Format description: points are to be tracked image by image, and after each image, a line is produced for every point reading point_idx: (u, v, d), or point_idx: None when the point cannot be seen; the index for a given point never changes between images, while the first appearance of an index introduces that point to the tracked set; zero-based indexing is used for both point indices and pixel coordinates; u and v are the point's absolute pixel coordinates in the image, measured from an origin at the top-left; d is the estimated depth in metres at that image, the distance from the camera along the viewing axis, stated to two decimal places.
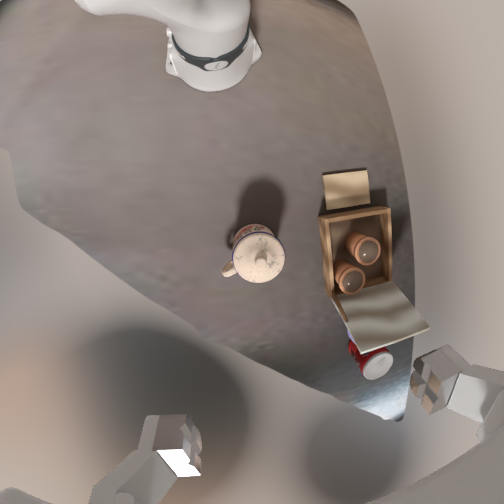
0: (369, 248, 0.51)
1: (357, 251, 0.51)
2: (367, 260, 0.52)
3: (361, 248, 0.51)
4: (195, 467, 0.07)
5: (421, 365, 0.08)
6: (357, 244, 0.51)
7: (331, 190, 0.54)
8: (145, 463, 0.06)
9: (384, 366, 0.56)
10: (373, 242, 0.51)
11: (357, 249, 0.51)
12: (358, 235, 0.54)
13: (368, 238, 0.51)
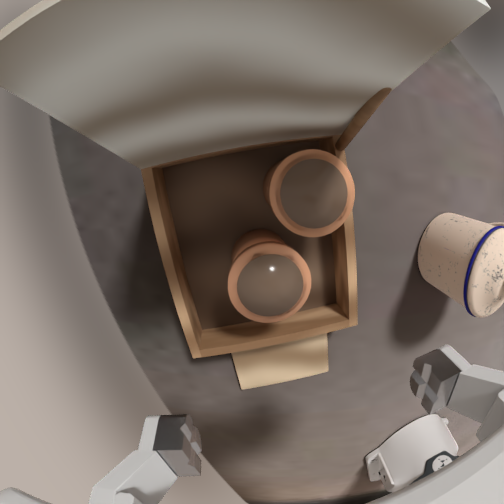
0: (268, 293, 0.19)
1: (306, 286, 0.19)
2: (272, 261, 0.18)
3: (297, 295, 0.19)
4: (195, 467, 0.07)
5: (421, 365, 0.08)
6: None
7: (314, 353, 0.28)
8: (145, 463, 0.06)
9: None
10: (259, 311, 0.19)
11: (306, 291, 0.19)
12: None
13: (273, 319, 0.19)
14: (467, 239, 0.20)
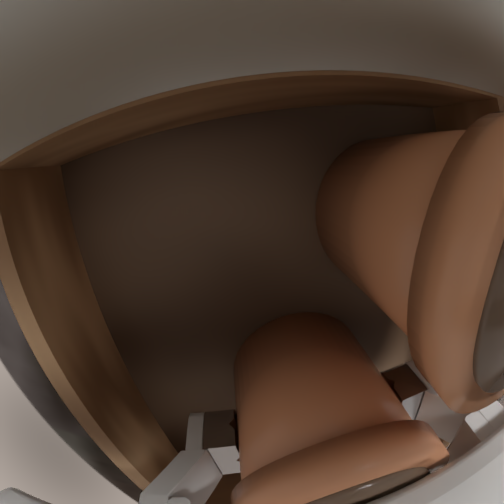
0: None
1: None
2: (375, 491, 0.04)
3: None
4: None
5: None
6: None
7: None
8: (196, 463, 0.06)
9: None
10: None
11: None
12: None
13: None
14: None
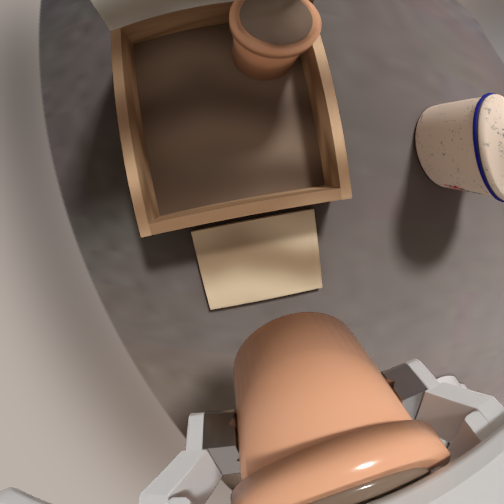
0: None
1: None
2: (376, 491, 0.04)
3: None
4: None
5: None
6: None
7: (302, 256, 0.23)
8: (196, 463, 0.06)
9: None
10: None
11: None
12: None
13: None
14: (465, 105, 0.15)
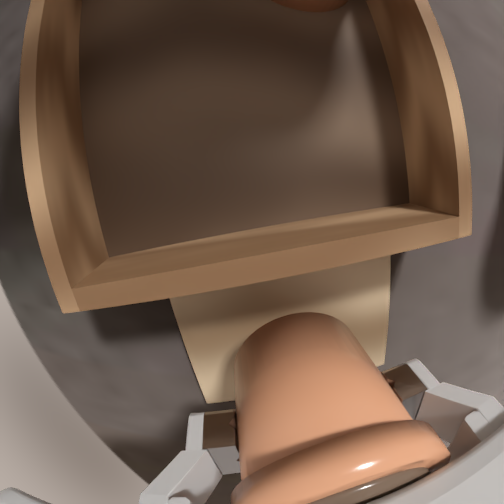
0: None
1: None
2: (376, 491, 0.04)
3: None
4: None
5: None
6: None
7: (364, 324, 0.13)
8: (196, 463, 0.06)
9: None
10: None
11: None
12: None
13: None
14: None
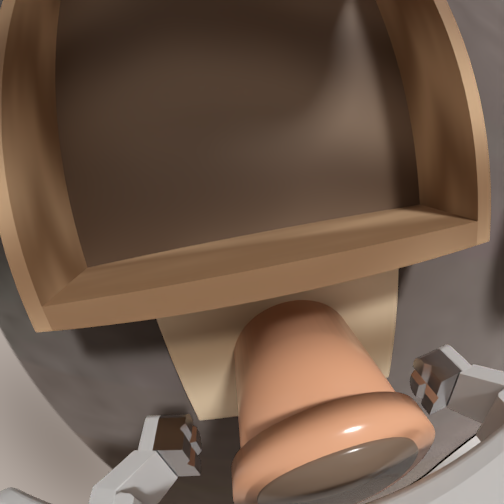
0: (333, 492, 0.05)
1: (414, 460, 0.05)
2: (363, 457, 0.04)
3: (393, 479, 0.05)
4: (195, 467, 0.07)
5: (421, 365, 0.08)
6: None
7: (368, 337, 0.12)
8: (145, 463, 0.06)
9: None
10: None
11: (411, 466, 0.05)
12: None
13: None
14: None
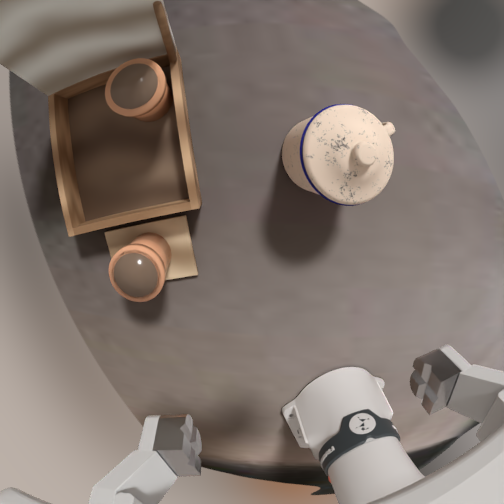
0: (135, 280, 0.25)
1: (161, 277, 0.25)
2: (134, 258, 0.24)
3: (154, 282, 0.25)
4: (195, 467, 0.07)
5: (421, 365, 0.08)
6: None
7: (179, 250, 0.31)
8: (145, 463, 0.06)
9: None
10: (130, 293, 0.25)
11: (161, 280, 0.25)
12: None
13: (141, 300, 0.26)
14: (309, 121, 0.23)
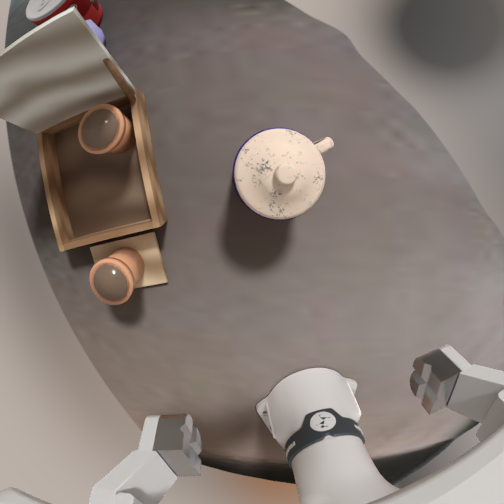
0: (110, 287, 0.29)
1: (129, 284, 0.30)
2: (107, 269, 0.29)
3: (124, 289, 0.30)
4: (195, 467, 0.07)
5: (421, 365, 0.08)
6: (131, 292, 0.30)
7: (151, 261, 0.36)
8: (145, 463, 0.06)
9: None
10: (107, 297, 0.30)
11: (130, 287, 0.30)
12: None
13: (116, 303, 0.30)
14: None
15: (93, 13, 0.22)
